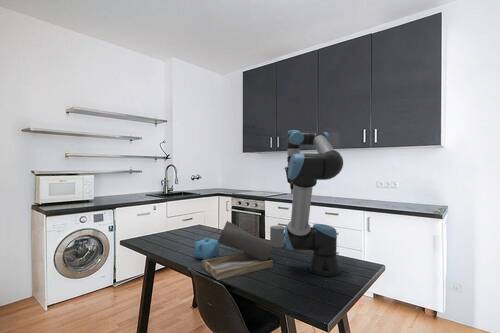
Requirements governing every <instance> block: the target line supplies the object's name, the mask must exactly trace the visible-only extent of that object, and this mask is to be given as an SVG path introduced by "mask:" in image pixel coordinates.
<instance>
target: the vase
mask: <svg viewBox="0 0 500 333" xmlns="http://www.w3.org/2000/svg"><path fill="white" fill-rule="evenodd" d="M218 237H219V238H218V243H219V245H224V246H226V247H229V248H232V249H236V250H239V251H242V252H243V253H245V252H246V253H248V254H250V255H252V256H254V257H256V258H258V259H260V260H263V261H269V258H270V257H271V254H272V252H273V248H274V247H273V245H272V244H271V243H270V241H268V240H266V239H262V238H261V237H258V236H256V235H253V234H250V233H249V232H248V231H246V230H244V229H243V228H241V227H240V226H237V225H236V224H234V223H232V222H231V221H228V220H227V221H226V222H225V225H224V227H223V228H222V231H221V233H220V236H218Z"/></svg>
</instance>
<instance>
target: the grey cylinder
mask: <svg viewBox="0 0 500 333" xmlns="http://www.w3.org/2000/svg"><path fill="white" fill-rule="evenodd" d="M284 227H285V226H281V225H272V226H270V227H269V230H270V231H269V232H270V233H269V234H270V235H269V242H270V243H271V244H272V245H273V248H283V247H284V246H285V230H284Z"/></svg>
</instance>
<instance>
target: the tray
mask: <svg viewBox="0 0 500 333" xmlns="http://www.w3.org/2000/svg"><path fill="white" fill-rule="evenodd" d="M273 267H274V260H273V259H270V260H269V259H268V260H267V261H263V260H260V259H258V258H256V257H254V256H252V255H250V254H248V253H246V252H239V253H235V254H234V253H233V254H230V255H224V256H220V257H219V256H218V257H216V258H209V259H207V260H205V259H203V260H202V259H201V268H202V269H204V270H205V271H206V272H207V273H208V274H209V275H211V276H212V277H213V278H214V279H216V280H217V281H219V280H224V279H228V278H233V277H236V276H240V275H244V274H248V273H253V272H258V271H262V270H267V269H271V268H273Z"/></svg>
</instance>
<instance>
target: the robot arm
mask: <svg viewBox="0 0 500 333" xmlns="http://www.w3.org/2000/svg"><path fill="white" fill-rule="evenodd" d="M301 146H314V148H315V150H316V152H317V153H308V152H307V153H304V152H301ZM286 158H287V166H286V167H284V170H285V174H286V180H287V183H289V188H290V195H292V204H291V205H292V206H291V217H290V220H289V222H288V224H287V225H286V226H283V227H284V241H285V245H286V249H287V250H290V251H312V256H311V260H310V263H309V272H311V273H313V274H315V275H318V276H322V277H334V276H339V275H340V274H341V273H340V272H341V266H340V265H339V262H338V257H337V248H338V244H337V240H338V239H337V238H338V234H337V229H336V228H335V227H333V226H331V225H328V224H323V223H314V224H313V226H311V224H309V220H310V212H311V204H312V197H313V196H312V195H313V188H314V187H316V185H317V183H318V181H322V180H323V181H326V180H332V179H334V178H335V177H337V176H338V175H339V174H340V172H342V170H343V167H344V158H343V157H342V155H341V154H340V152H339V151H337V150H335V149H334V148H333V146H332V145H331V143H330V135H329V132H328V131H300V130H297V129H293V130H292V129H291V130H288V131H287V157H286Z"/></svg>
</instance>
